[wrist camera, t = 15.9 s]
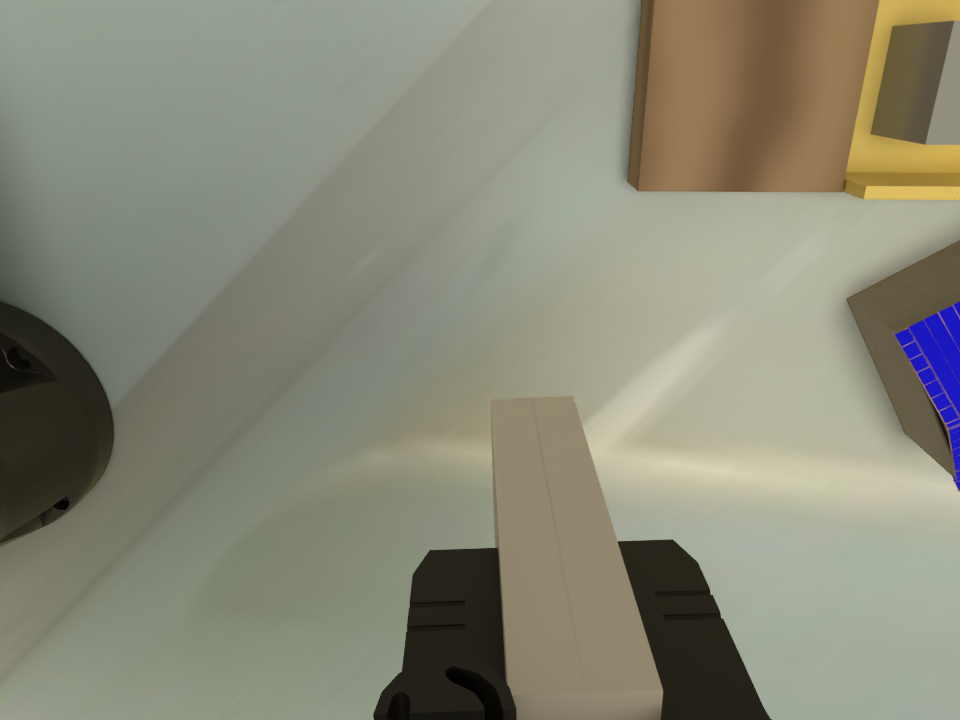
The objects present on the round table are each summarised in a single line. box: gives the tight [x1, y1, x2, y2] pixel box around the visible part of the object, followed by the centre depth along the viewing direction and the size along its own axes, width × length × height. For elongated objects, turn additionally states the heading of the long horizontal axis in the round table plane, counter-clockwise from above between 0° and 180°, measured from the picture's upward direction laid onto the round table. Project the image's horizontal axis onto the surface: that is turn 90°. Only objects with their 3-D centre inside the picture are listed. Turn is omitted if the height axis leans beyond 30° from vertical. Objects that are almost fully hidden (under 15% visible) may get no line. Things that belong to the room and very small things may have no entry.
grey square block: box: [870, 21, 960, 145], centre depth 33 cm, size 5×5×3 cm
